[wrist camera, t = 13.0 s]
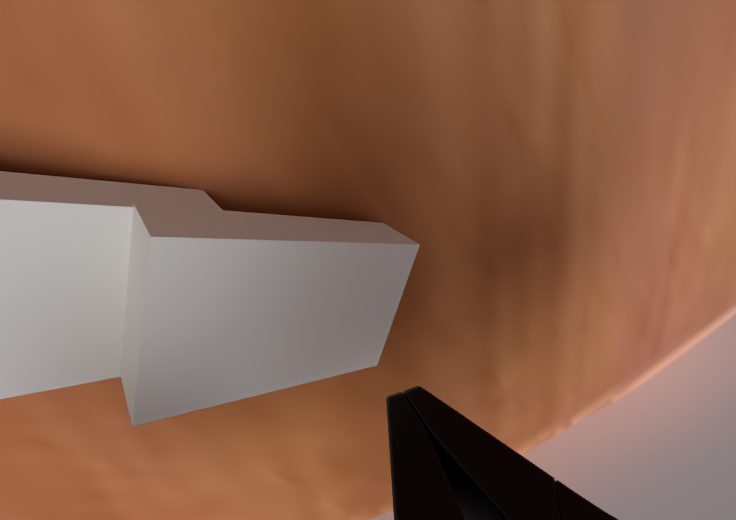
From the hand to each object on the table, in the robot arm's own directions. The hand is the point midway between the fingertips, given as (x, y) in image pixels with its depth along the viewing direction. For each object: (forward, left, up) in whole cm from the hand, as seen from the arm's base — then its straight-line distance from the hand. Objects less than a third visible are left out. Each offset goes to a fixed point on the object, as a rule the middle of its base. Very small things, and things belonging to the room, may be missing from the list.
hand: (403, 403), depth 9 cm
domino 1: (-1, +1, -6) cm, 6 cm away
